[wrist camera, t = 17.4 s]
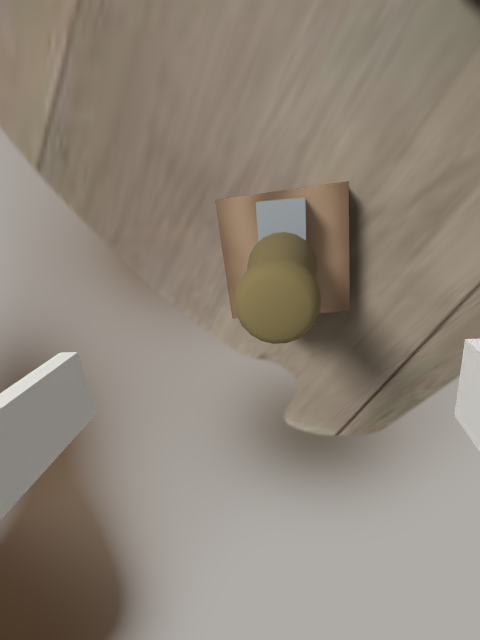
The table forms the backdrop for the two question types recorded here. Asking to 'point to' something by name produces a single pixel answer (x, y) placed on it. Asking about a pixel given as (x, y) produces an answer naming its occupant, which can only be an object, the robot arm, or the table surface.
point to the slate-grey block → (281, 217)
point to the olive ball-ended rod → (279, 289)
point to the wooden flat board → (321, 234)
